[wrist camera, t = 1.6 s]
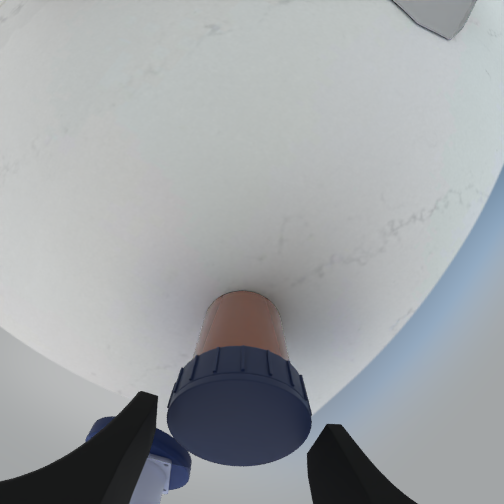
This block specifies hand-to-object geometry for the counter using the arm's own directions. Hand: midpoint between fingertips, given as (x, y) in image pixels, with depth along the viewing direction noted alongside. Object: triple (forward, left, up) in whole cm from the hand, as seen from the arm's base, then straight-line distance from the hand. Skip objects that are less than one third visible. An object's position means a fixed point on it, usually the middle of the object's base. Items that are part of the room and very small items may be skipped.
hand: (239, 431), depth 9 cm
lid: (0, 0, 0) cm, 0 cm away
